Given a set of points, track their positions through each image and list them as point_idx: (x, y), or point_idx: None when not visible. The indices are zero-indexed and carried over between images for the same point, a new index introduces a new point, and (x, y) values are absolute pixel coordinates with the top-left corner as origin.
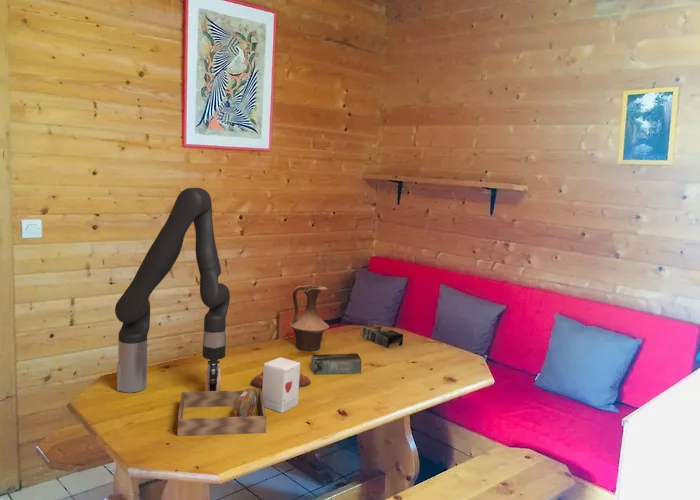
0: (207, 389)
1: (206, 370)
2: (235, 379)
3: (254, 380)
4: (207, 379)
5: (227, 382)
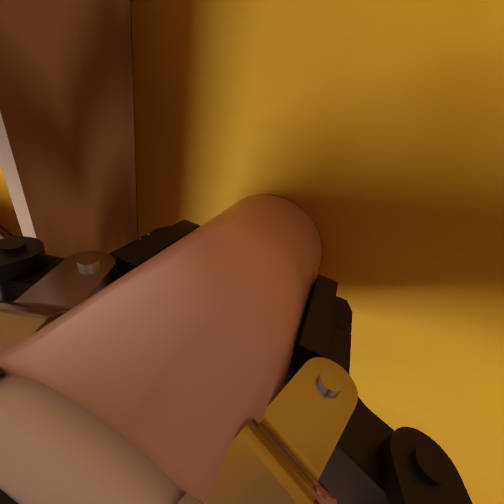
0: (202, 225)
1: (129, 432)
2: (497, 485)
3: (318, 498)
4: (121, 277)
5: (478, 432)
